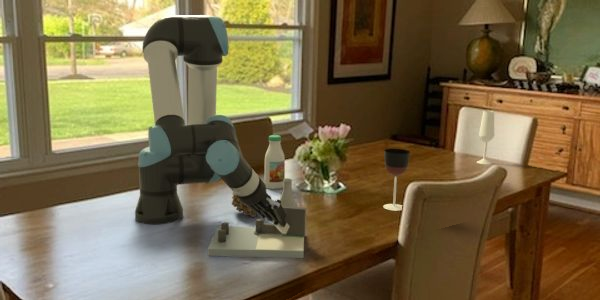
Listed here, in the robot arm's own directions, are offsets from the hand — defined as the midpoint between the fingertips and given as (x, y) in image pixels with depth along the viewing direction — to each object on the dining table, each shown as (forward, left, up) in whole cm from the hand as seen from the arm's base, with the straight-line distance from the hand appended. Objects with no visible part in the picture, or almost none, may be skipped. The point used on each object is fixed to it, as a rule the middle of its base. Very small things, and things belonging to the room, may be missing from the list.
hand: (285, 229), depth 171 cm
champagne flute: (+87, +108, -5) cm, 139 cm away
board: (-8, 0, -5) cm, 9 cm away
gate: (-2, +3, -2) cm, 4 cm away
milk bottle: (-7, +60, -5) cm, 60 cm away
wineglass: (+36, +38, -5) cm, 52 cm away
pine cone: (-11, +24, -5) cm, 26 cm away
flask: (-1, +35, -5) cm, 35 cm away
